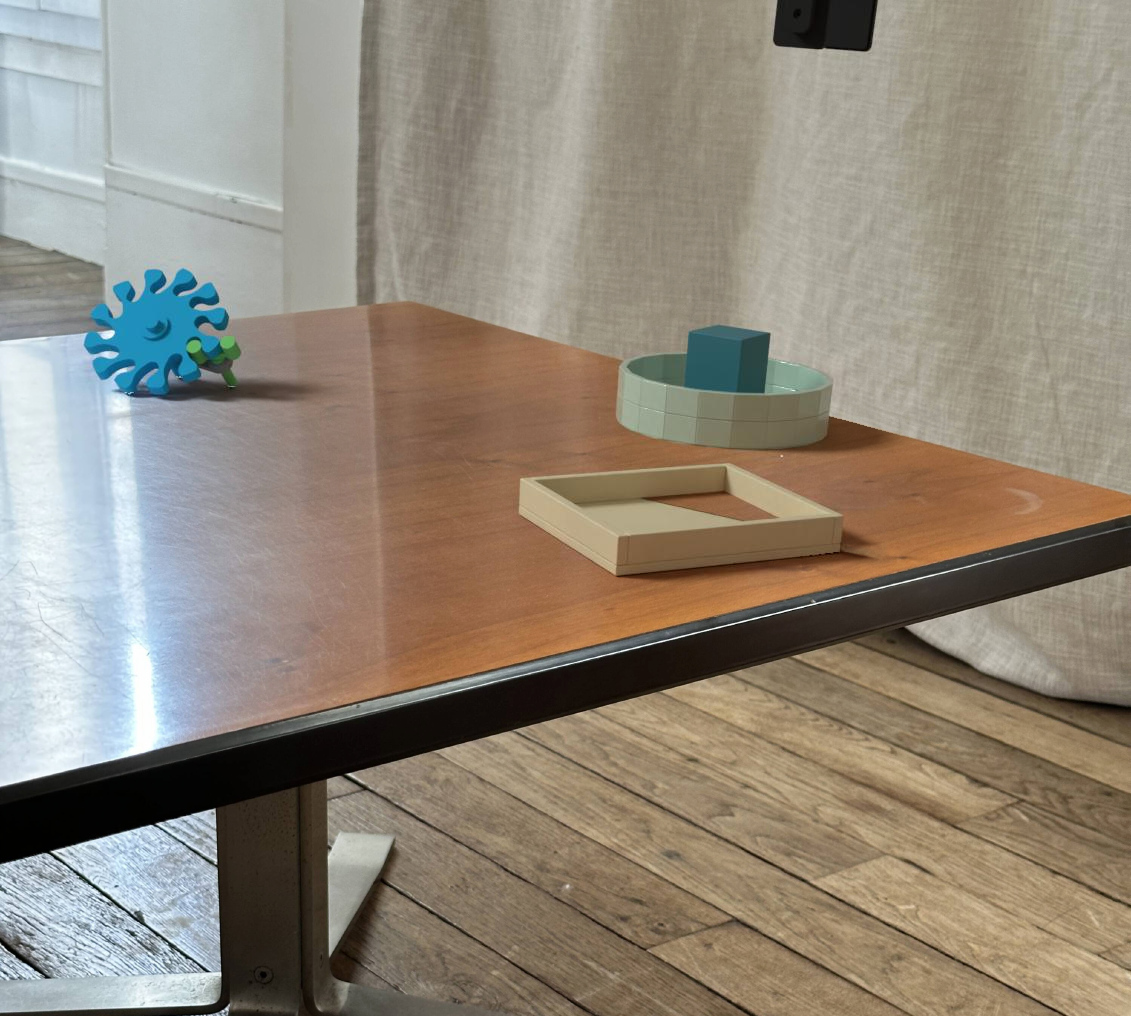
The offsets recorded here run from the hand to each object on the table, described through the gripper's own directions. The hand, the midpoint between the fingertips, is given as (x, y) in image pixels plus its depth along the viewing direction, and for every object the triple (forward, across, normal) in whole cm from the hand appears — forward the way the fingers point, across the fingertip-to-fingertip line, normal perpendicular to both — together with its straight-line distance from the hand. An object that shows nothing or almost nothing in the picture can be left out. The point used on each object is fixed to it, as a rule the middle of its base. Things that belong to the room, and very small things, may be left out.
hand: (823, 48), depth 99 cm
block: (+23, -3, +3) cm, 24 cm away
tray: (+24, -28, -4) cm, 36 cm away
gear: (+25, -16, +39) cm, 49 cm away
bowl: (+24, -3, +3) cm, 24 cm away
